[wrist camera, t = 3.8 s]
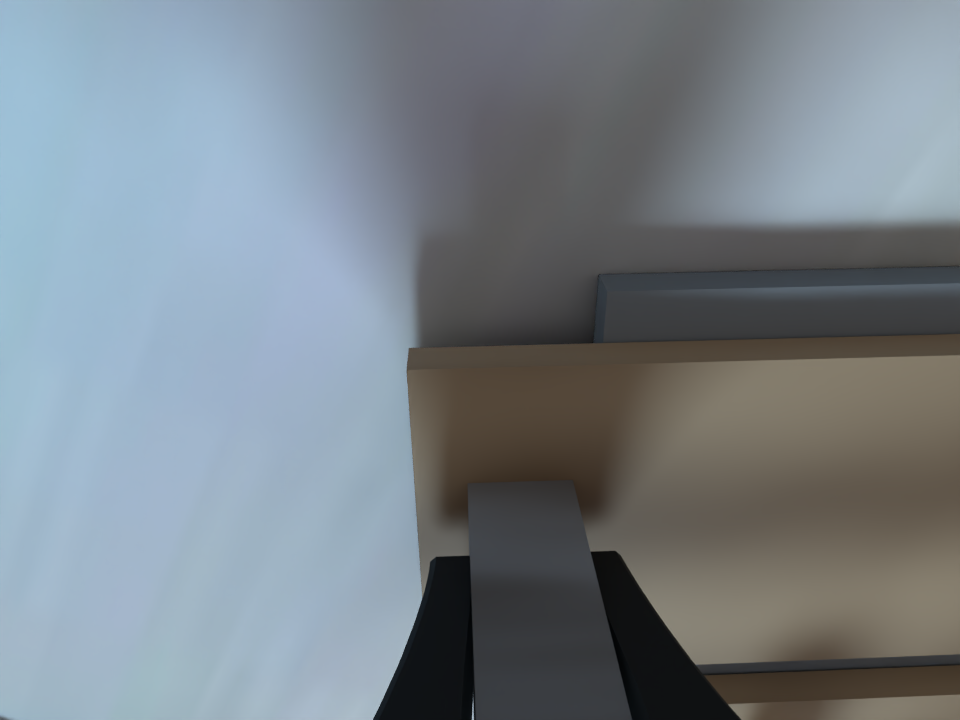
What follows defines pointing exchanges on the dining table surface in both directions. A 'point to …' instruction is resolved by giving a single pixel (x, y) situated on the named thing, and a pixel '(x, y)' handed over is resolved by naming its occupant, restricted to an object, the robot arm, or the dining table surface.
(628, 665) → the robot arm
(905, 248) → the dining table surface
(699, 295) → the lane board
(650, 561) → the strip
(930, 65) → the dining table surface
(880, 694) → the strip
